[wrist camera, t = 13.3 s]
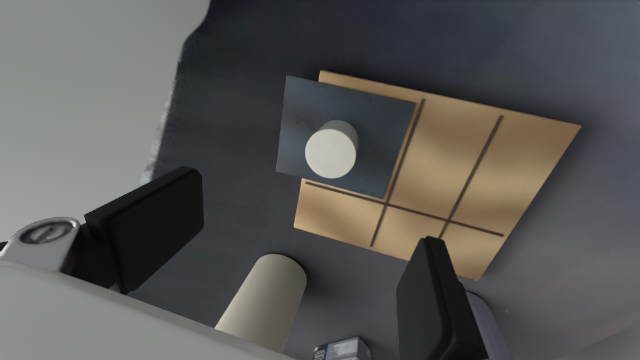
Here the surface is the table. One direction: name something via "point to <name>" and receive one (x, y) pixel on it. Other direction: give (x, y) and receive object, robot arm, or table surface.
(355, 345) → the blue product box
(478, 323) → the container
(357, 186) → the board
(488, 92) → the table surface
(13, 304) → the robot arm
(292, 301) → the travel mug
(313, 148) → the white squat cylinder
